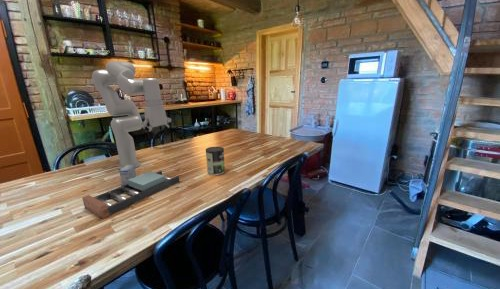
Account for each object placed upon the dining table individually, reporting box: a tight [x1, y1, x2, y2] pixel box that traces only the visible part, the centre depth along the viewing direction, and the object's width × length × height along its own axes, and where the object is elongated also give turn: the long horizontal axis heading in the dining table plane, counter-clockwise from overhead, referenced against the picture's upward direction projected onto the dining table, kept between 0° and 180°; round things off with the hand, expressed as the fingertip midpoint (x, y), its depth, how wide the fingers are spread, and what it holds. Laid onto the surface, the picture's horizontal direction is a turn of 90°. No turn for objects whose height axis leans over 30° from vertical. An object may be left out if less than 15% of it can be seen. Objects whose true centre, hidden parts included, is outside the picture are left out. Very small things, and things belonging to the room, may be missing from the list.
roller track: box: [81, 170, 181, 219], centre depth 104 cm, size 15×38×5 cm, turn 148°
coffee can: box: [205, 146, 226, 176], centre depth 127 cm, size 10×10×14 cm
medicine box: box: [119, 165, 137, 186], centre depth 116 cm, size 8×4×9 cm, turn 5°
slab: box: [128, 171, 166, 192], centre depth 109 cm, size 12×12×3 cm
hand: (159, 137), depth 115 cm, fingers open, 9 cm apart
